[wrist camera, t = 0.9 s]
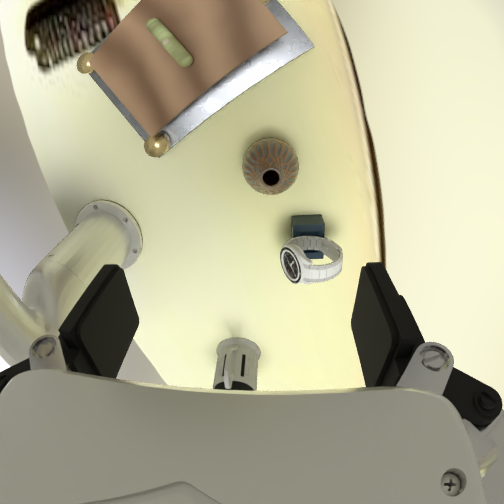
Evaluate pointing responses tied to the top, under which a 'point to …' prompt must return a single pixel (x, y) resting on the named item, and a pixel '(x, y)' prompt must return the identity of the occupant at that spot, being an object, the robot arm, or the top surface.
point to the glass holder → (237, 365)
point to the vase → (270, 166)
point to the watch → (309, 252)
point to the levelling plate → (198, 36)
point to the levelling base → (220, 91)
